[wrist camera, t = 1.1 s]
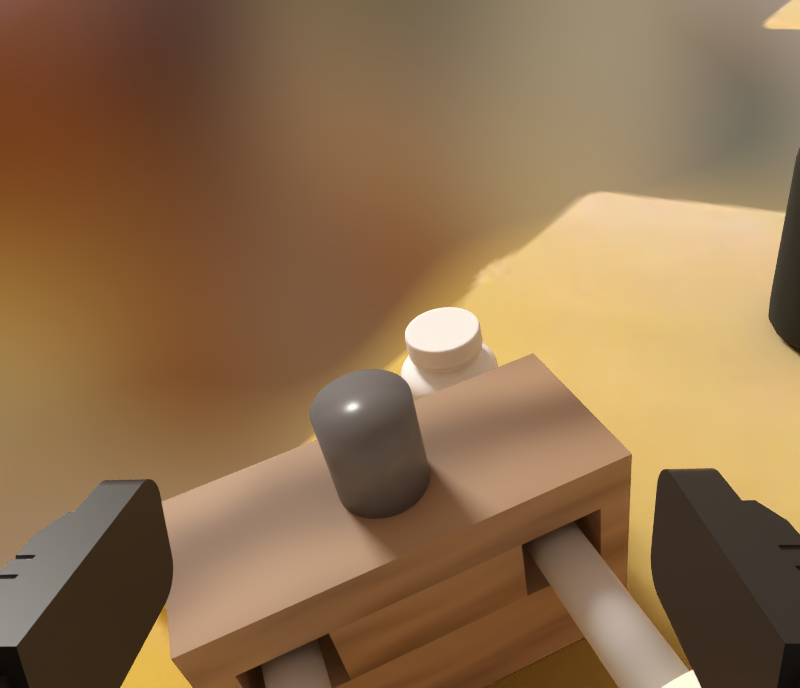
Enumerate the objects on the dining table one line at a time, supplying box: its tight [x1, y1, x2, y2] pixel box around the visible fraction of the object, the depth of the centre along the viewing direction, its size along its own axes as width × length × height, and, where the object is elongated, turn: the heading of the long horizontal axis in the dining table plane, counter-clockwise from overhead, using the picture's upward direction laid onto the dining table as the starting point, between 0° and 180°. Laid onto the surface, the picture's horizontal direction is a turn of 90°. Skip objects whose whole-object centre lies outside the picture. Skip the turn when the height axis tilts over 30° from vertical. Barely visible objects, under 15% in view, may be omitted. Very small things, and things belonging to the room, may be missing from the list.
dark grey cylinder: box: [310, 369, 430, 519], centre depth 24 cm, size 4×4×4 cm
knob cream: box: [523, 521, 701, 688], centre depth 23 cm, size 12×5×5 cm, turn 21°
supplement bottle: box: [401, 307, 498, 401], centre depth 37 cm, size 5×5×10 cm
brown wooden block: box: [162, 354, 632, 688], centre depth 28 cm, size 7×17×11 cm, turn 111°
